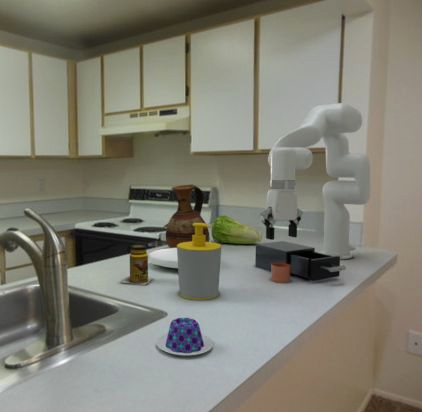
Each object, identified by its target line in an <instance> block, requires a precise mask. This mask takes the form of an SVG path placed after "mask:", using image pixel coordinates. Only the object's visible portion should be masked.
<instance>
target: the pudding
mask: <svg viewBox="0 0 422 412" xmlns="http://www.w3.org/2000/svg"><path fill="white" fill-rule="evenodd" d="M201 331H202V330H201V327H200V324H199V322H198V321H197V320H196V319H194V318H190V317H177V318H175V319H172V320H171V322H170V324H169V329H168V332H166V333H164V334H162V335H160V336H159V337H158V338H157V339H156V341H155V344H156V346H157V347H158V348H159V349H160V350H161V351H163V352H166V353H168V354H172V355H177V356H197V355H200V354H204V353H206V352H208V351H210V350H211V349H212V348H213V346H214V341H213V340H212V339H211V338H210V337H209V336H208V335H205V334H203V333H202V332H201Z"/></svg>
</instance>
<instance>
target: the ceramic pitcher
mask: <svg viewBox="0 0 422 412" xmlns="http://www.w3.org/2000/svg"><path fill="white" fill-rule="evenodd" d="M171 190H172V191H174V193H175V194H176V197H177V208H176V211H175V212H174V213H173V214H172V216H171V217H170V218H169V220H168V223H167V225H166V228H165V229H166V230H165V241H166V245H167V246H168V248H177V245H178V244H179V243H183V242H192V235H195V226H193V224H194V223H205V224H207V223H206V221H205V219H204V218H203V217H202V215H201V213H202V210H203V204H204V193H203V190H202V189H201V188H200V187H198V186H196V185H195V184H182V185H181V184H179V185H176V186H172V187H171ZM193 191H194V194H195V195H194V196H195V198H194V199H195V200H194V201H195V202H194V206H193V207H192V203H191V202H192V201H191V200H192V199H191V196H192V193H193ZM203 235H205V236H206V242H210V230H209V228H208V227H203Z"/></svg>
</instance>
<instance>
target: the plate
mask: <svg viewBox="0 0 422 412" xmlns="http://www.w3.org/2000/svg"><path fill="white" fill-rule="evenodd" d="M148 262H149V263H151V264H153V265H156V266H160V267H164V268H171V269H178V257H177V248H170V247H168V248H162V249H156V250H153V251H151V252H150V253H149V254H148Z"/></svg>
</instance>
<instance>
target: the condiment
mask: <svg viewBox="0 0 422 412" xmlns="http://www.w3.org/2000/svg"><path fill="white" fill-rule="evenodd" d="M147 248H148V247H147V245H144V244H133V245H131V246H130V254H129V276H127V277H126V278H125V279H124V280H123V281H121V282H120V283H121V284H132V285H141V286H146V284H148V283H150V281H151V280H152V278H150V277H149V254H148V253H147V252H148V251H147Z"/></svg>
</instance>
